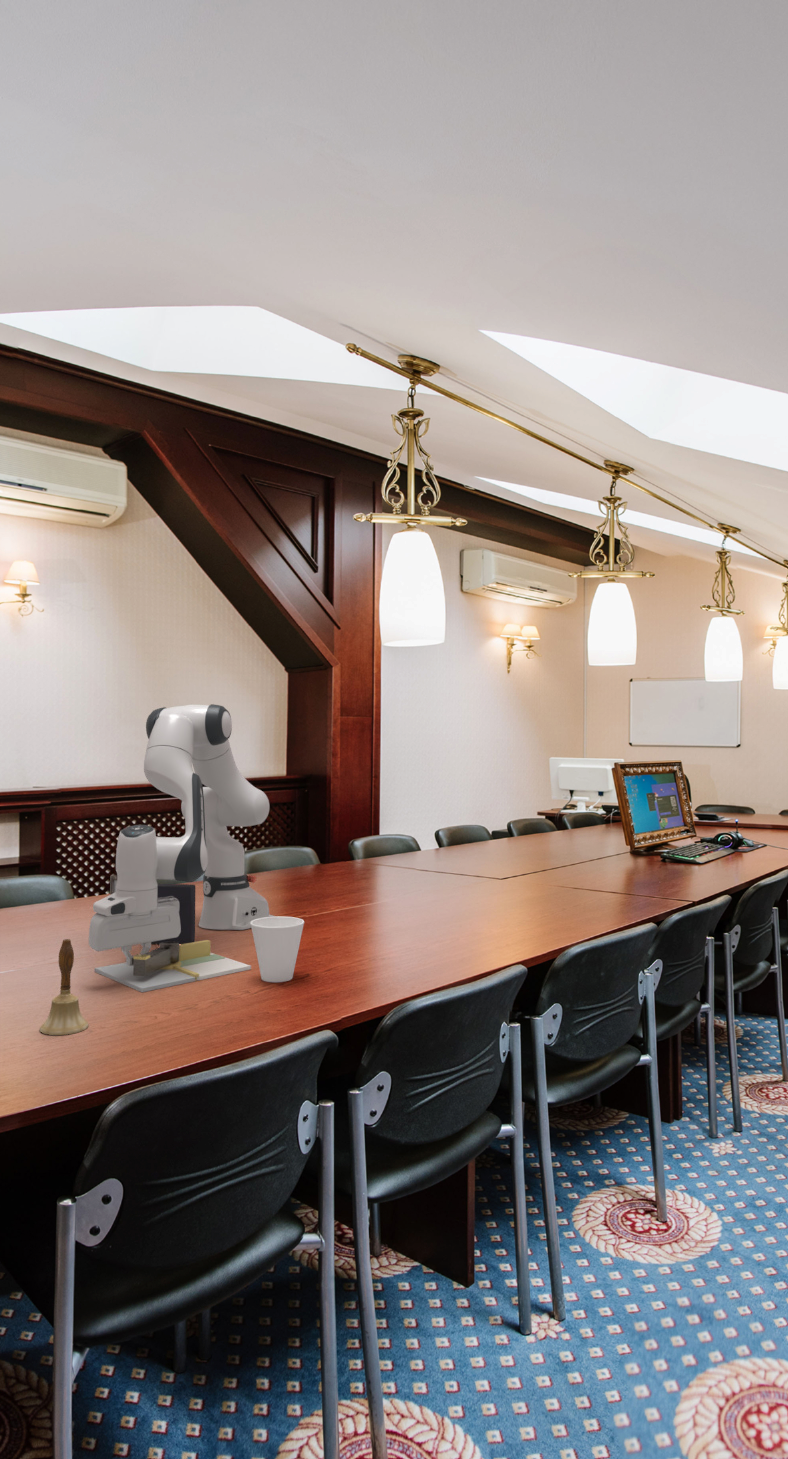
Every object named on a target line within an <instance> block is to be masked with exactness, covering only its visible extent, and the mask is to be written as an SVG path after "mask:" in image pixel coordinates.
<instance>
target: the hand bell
mask: <svg viewBox="0 0 788 1459" xmlns="http://www.w3.org/2000/svg"><path fill="white" fill-rule="evenodd" d="M73 948H74V947H73V945H72V941H71V939H69V938H66V939H63V940H62V942H61V946H60V948H59V949H60V950H59V953H58V967H59V970H60V975H61V977H60V978H61V979H60V991H59V995H57V996H55V997H53V998H52V1000H51V1003H50V1004H51V1005H50V1010H49V1013H48V1016H47V1019H46V1020H45V1021H44V1022H43V1023H42V1024H41V1026H40V1027H39V1032H40V1033H41V1032H42V1033H41V1034H44V1035H47V1034H49V1035H48V1036H68V1034H69V1035H73V1034H78V1033H80V1032H82V1031H85V1030H87V1029H88V1028H89V1024H90V1023H88V1020H86V1019H85V1018H84V1017H83V1015H82V1013H81V1010H80V1004H79V997H78V996H77V995H74V994H73V993H71V973H72V969H73V966H74V961H75V955H74V954H75V952H74V949H73Z"/></svg>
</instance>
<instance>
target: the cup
mask: <svg viewBox="0 0 788 1459" xmlns="http://www.w3.org/2000/svg"><path fill="white" fill-rule="evenodd" d="M250 924H251V927H252V928H251V932H252V937H253V941H254V946H255V952H256V958H257V963H258V968H259V974H260V977H261V980H262V981H263V982H267V983H283V982H284V983H285V982H287V981H291V980H292V979H293V978H294V973H295V972H294V971H295V968H296V962H297V958H298V954H299V949H300V945H301V939H302V934H303V929H304V925H305V921H304V919H302V918H298V917H293V916H280V915H279V916H278V915H277V916H275V917H264V918H259V919H255V920H252V921H251V922H250Z"/></svg>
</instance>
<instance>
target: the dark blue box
mask: <svg viewBox="0 0 788 1459" xmlns="http://www.w3.org/2000/svg"><path fill="white" fill-rule="evenodd" d="M157 885H158V894H157V897H158V898H160V897H168V896H173V897H174V898H177V899H178V901H179V916H180V925H181V932H180V934H179V936H178V937H176V938H170V939H165V940H159V941H154V942H151V945H159V944H160V943H162V942H167V941H175V942H179V944H187V943H192V942H196V884H188V883H187V884H184V883H183V884H182V883H179V884H177V883H157ZM174 900H175V899H174Z"/></svg>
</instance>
